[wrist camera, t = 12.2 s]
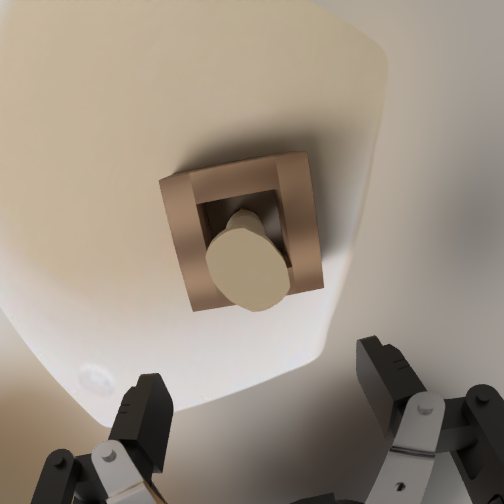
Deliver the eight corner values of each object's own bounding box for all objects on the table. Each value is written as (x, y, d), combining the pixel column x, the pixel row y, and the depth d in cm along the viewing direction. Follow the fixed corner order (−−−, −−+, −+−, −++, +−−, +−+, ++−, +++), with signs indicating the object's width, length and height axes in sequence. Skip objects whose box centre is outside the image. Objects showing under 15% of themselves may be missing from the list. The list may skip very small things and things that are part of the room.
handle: (243, 186, 34) (248, 214, 20) (277, 230, 36) (303, 285, 22) (210, 212, 35) (191, 258, 21) (244, 254, 37) (249, 322, 23)
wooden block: (171, 174, 33) (158, 180, 28) (295, 151, 33) (306, 151, 28) (199, 287, 38) (193, 311, 32) (311, 266, 38) (324, 287, 32)
